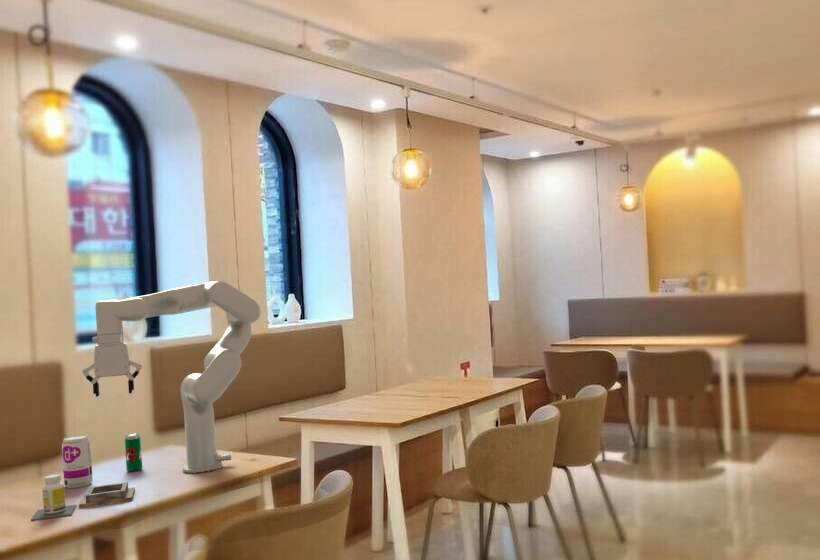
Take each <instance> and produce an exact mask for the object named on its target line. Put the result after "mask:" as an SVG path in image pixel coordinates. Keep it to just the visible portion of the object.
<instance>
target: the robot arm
mask: <svg viewBox="0 0 820 560" xmlns="http://www.w3.org/2000/svg"><path fill="white" fill-rule="evenodd" d="M214 307H215V308H216V307H218V308H220V309H221V310H222V311H224V312H225V316H226V317H225V318H226V321H227V326H226V331H225V332H224V333H223V335H222V336H221V338H220V339H219V341H217V342H216V344H215V345H214V346H213V347H212V348H211V350H210V351H209V352H208V353H207V355H206V356H205V357H204V361H203V367H204V371H202V373H201V372H194V373H191V374H189V375H187V376H185V378H184V379H183V380H182V382H181V385H180V399H181V402H182V408H183V416H184V431H185V432H184V433H185V434H184V435H185V446H186V449H185V450H186V463H187V464H185V465H184V466H183V467H182V471H183V472H184V473H186V472H187V473H188V474H197V473H196V472H201V473H205V472H204V471H208V472H211V471H210V470H213V471H215V470H214V469H216V470H218V469H217V468H219V467H221V466H222V467H223V462H224V461H226V462H227V461H231V460H232V454H231V453H230V454H228V453H225V454H218V451H217V440H216V439H217V438H216V425H215V412H214V411H215V410H214V405H213V403H214V402H216V401H217V400H218V399H219V398H221V396H222V395H223V393H224V392H225V391H226V390H227V389H228V387H229V386H230V385H231V384H232V383H233V381H234V380H235V379H236V377H237V375H238V374H239V373H240V370H241V368H242V357H241V354H242V353H243V352H244V350H245V348H247V346H248V344H249V342H250V339H251V335H252V325H251V324H254V323H256V322H257V321H258V320H259V318H260V317H261V308H260V305H259V304H258V302H257V301H256V300H255V299H253V298H252V297H250V296H248V295H247V294H245V293H243V292H242V291H241V290H239V289H237V288H236V287H234V286H232V285H231V284H229V283H228V282H226V281H223V280H216V281H207V282H203V283H197V284H191V285H187V286H186V285H185V286H181V287H175V288H171V289H167V290H163V291H160V292H155V293H150V294H145V295H140V296H139V295H138V296H134V297H129V298H125V299H121V300H119V299H109V300H99V301H97V302H96V303H95V323H96V336H94V337H92V342H95V343H97V344H96V345H95V346H94V350H93V351H94V353H93V355H94V356H93V364H91V365H90V366H88V367H86V368H84V369H82V370H81V371H82V374H83V375H84V377H85V379H86V380H88V381H89V382H90V383H91V384H92V387H93V388H92V389H93V390H92V392H93V395H95V397H96V398H97V397H99V396H100V383H98V381H99V379H101V378H109V377H110V378H111V377H117V376H118V377H120V376H126V378H127V379H128V381H127V382H128V387H127V388H128V394H132V393H133V391H134V390H135V384H134V383H135V382H134V379H135V378H136V377H137V376H138V375H139V373H140V371H141V370H142V367H143V365H142V364H140V363H138V362H135V361H133V360H130V356H129V355H130V354H129V350H128V346H127V345H128V344H127V343H126V342H124V327H123V322H133V323H134V322H136V323H137V322H140V321H143V320H144V319H147V318H153V317H160V316H169V315H170V316H174V315H180V314H181V315H182V314H185V313H189V312H195V311H200V310H204V309H208V308H209V309H210V308H214ZM131 367H134V368H135V371H134V372H132V373H131V372H130V371H131ZM92 370H93V372H94V375H95V376H94V377H93V376H92V375H90V373H89V372H90V371H92ZM222 467H221V468H222ZM219 469H220V468H219Z"/></svg>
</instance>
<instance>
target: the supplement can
mask: <svg viewBox="0 0 820 560" xmlns="http://www.w3.org/2000/svg"><path fill="white" fill-rule="evenodd" d="M88 436H89V435H76V436H75V435H74V436H69V437H65V438H63V441H62V444H61V455H62V457H61V458H62V470H63V484H64V487H66V488H67V487H70V488H69V489H75V488H74V487H78V488H83V487H86V485H87V486H89V485H91V484H92V482H93V466H92V465H93V464H92V452H91V451H92V450H91V440H90V438H89V437H88ZM90 483H91V484H90ZM82 486H83V487H82ZM71 487H72V488H71Z"/></svg>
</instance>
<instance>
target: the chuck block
mask: <svg viewBox="0 0 820 560" xmlns="http://www.w3.org/2000/svg"><path fill="white" fill-rule="evenodd" d="M135 491H136V487H135V486H134V487H133V486H132V487H129V481H126V482H119V483H109V484H103V485H95V486H90V487H89V489H88V490H87V492H86V493H84V494H83V496H82V498H81V500H80V501H79V503H78V508H79V509H82V508H89V507H96V505H98V506H103V505H102V504H105V505H111V504H110V503H112V504H119V503H125V502H126V503H127V502H132V501H133V499H134V496H135ZM133 495H134V496H133Z"/></svg>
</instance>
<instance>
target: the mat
mask: <svg viewBox="0 0 820 560" xmlns="http://www.w3.org/2000/svg"><path fill="white" fill-rule="evenodd" d="M65 506H66V508H65V510H64V511H62V512H59V513H55V514H45V513H44V508H40V509H37V510H36V511H35V513H34V515H32V517H31V519H30V522H35V521H41V520H49V519H50V520H51V519H55V518H63V517H69V516H72V515H73V513H74V511H75V510H76V508H77V506H78V505H77V504H71V505H65Z"/></svg>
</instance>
